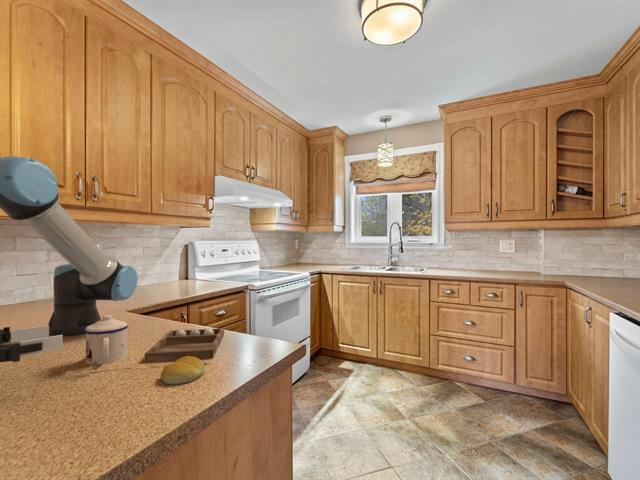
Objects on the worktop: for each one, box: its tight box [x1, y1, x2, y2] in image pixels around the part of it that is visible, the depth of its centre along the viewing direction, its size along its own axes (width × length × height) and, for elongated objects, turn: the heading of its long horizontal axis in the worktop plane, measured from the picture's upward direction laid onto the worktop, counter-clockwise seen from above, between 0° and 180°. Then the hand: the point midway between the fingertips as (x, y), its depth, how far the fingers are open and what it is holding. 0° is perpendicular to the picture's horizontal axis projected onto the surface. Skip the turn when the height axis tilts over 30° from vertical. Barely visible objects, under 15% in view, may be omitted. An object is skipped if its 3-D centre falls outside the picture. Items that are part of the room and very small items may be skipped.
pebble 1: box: [175, 329, 186, 336], centre depth 95 cm, size 3×3×3 cm
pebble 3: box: [204, 328, 214, 335], centre depth 96 cm, size 3×3×3 cm
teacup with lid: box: [84, 314, 129, 365], centre depth 79 cm, size 12×9×12 cm
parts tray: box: [144, 327, 225, 363], centre depth 89 cm, size 21×16×3 cm
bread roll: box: [160, 356, 206, 385], centre depth 71 cm, size 8×9×4 cm
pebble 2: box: [190, 328, 200, 335], centre depth 96 cm, size 3×3×3 cm
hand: (55, 335), depth 72 cm, fingers open, 13 cm apart
